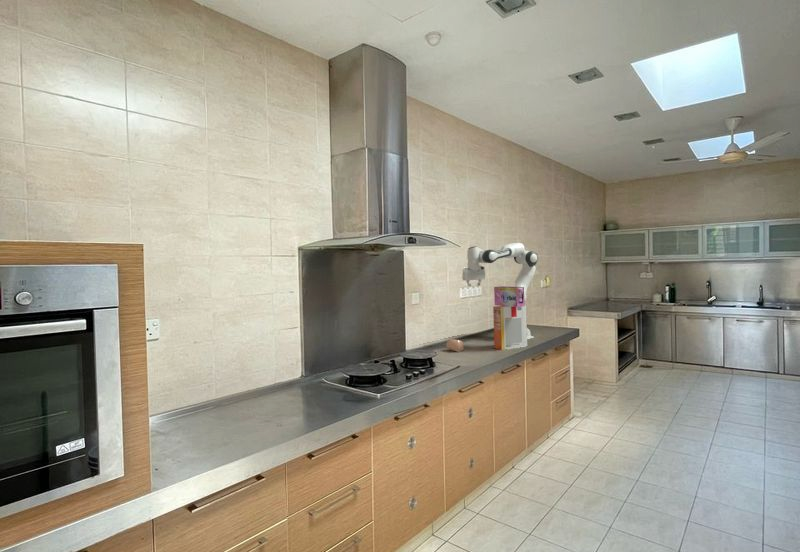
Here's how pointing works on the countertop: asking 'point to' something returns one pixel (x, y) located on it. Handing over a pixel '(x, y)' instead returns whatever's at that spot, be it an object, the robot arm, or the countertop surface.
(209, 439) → the countertop surface
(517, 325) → the pasta box
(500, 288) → the pink purple package
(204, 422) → the countertop surface
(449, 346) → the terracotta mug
